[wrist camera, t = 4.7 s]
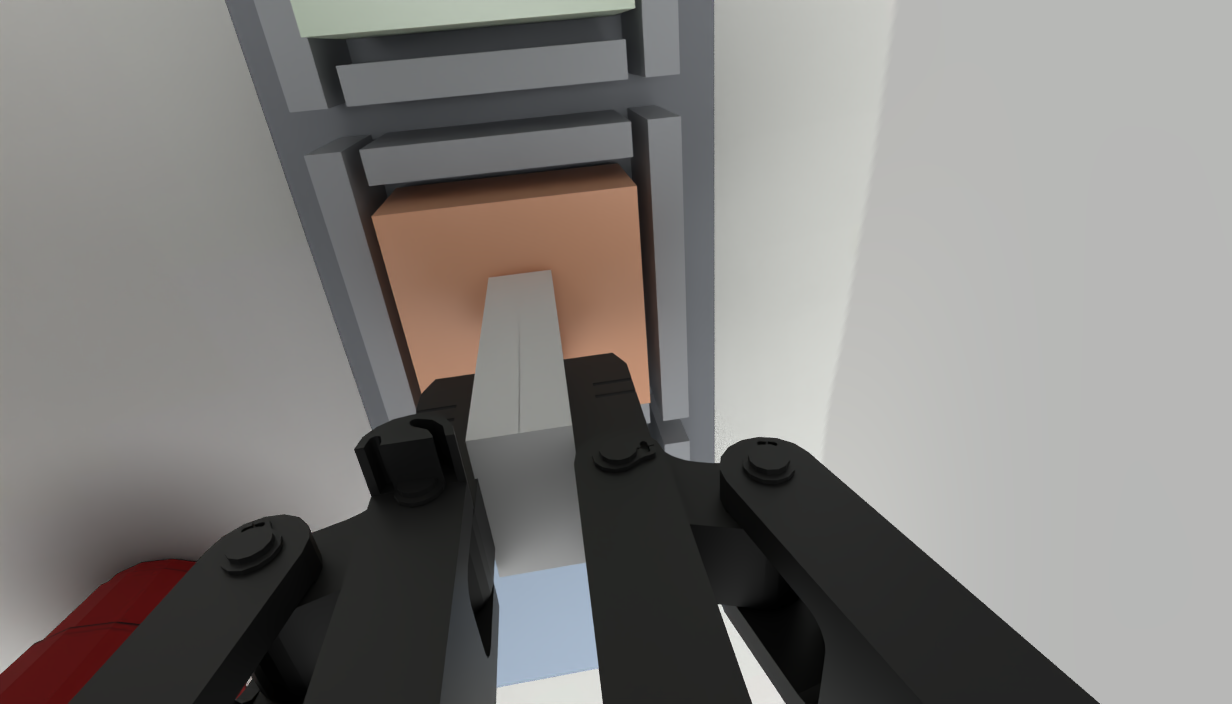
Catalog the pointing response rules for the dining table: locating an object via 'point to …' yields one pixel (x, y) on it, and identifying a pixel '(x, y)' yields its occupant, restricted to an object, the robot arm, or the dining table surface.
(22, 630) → the dining table surface
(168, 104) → the dining table surface
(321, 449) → the dining table surface
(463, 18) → the button sage
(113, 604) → the plastic cup
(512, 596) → the button slate
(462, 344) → the button terracotta
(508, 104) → the console
